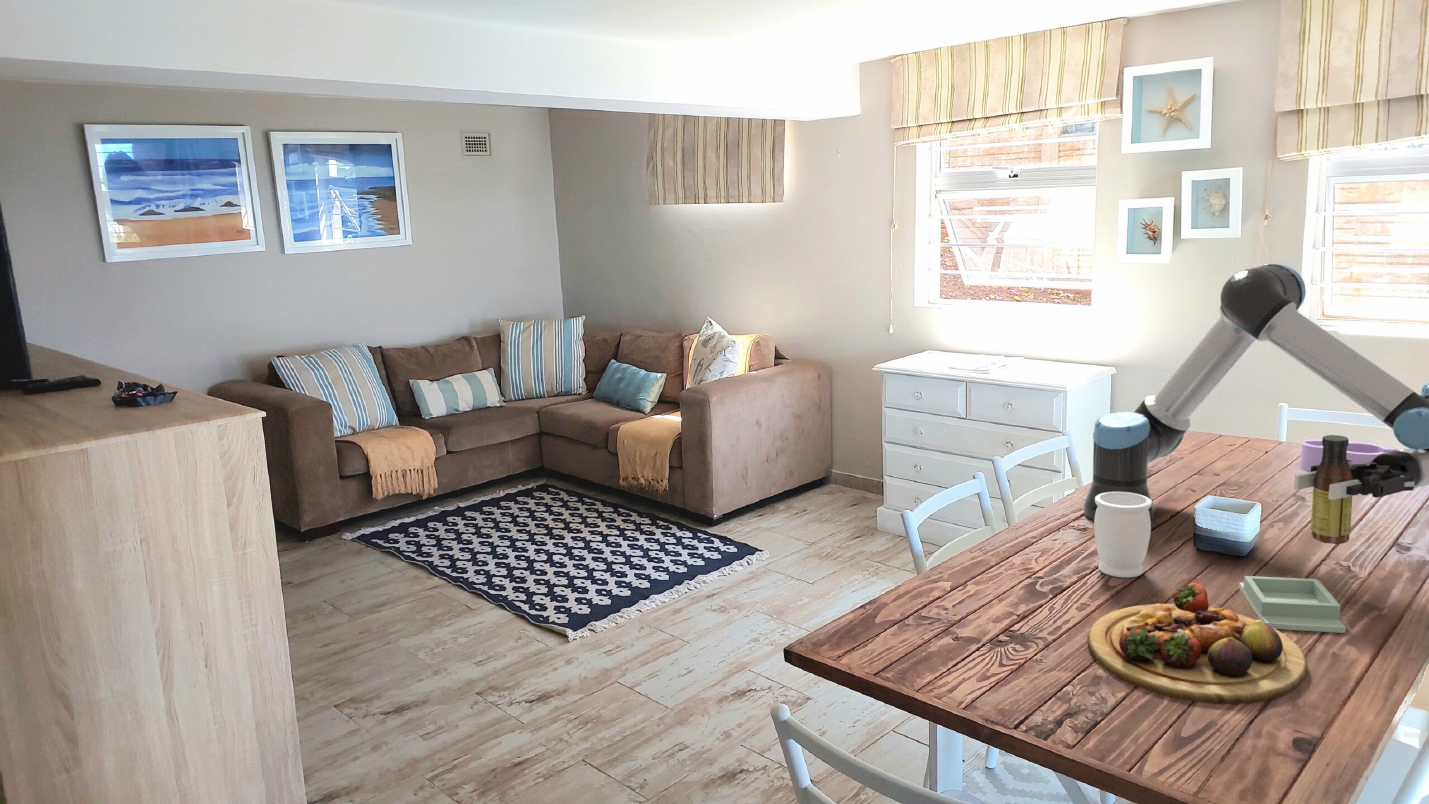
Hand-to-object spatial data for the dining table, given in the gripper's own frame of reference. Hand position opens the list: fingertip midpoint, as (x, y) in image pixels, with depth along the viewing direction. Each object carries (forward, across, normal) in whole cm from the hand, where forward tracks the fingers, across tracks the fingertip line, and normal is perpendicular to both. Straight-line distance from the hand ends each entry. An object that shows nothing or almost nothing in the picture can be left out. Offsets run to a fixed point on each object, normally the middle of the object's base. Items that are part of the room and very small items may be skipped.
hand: (1313, 487), depth 177 cm
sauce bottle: (-5, 0, +11) cm, 12 cm away
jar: (+24, -21, +20) cm, 38 cm away
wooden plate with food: (+39, +12, +20) cm, 46 cm away
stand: (+11, +6, +19) cm, 23 cm away
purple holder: (-72, -47, +20) cm, 88 cm away
